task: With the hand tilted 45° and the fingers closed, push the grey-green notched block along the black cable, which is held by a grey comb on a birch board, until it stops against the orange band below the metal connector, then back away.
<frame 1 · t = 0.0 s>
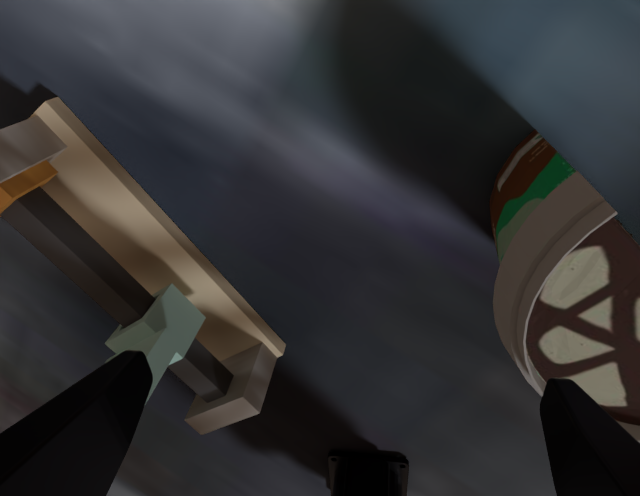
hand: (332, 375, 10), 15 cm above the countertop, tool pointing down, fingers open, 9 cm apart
grey-green notched block: (126, 376, 22), point 8 cm above the countertop, slide at 0.0 cm
cable comb board: (155, 258, 28), on the countertop
food container: (536, 229, 23), on the countertop
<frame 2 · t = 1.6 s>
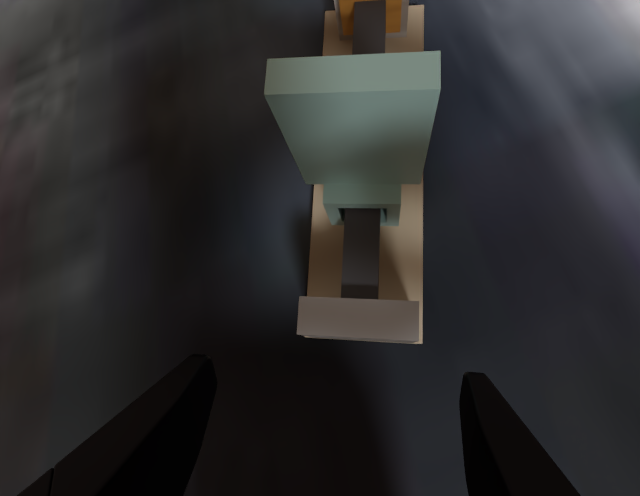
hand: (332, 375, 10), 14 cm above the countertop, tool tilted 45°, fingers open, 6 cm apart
grey-green notched block: (360, 153, 17), point 8 cm above the countertop, slide at 0.0 cm
cable comb board: (369, 166, 25), on the countertop
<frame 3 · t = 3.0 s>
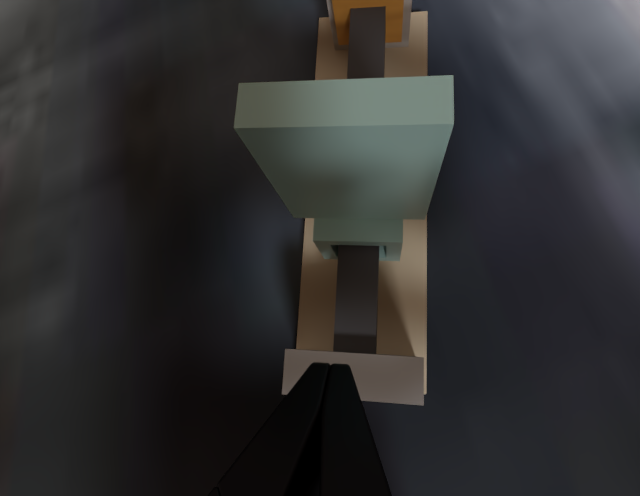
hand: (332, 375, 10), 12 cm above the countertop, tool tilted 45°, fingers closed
grey-green notched block: (355, 186, 15), point 7 cm above the countertop, slide at 0.0 cm
cable comb board: (366, 189, 23), on the countertop
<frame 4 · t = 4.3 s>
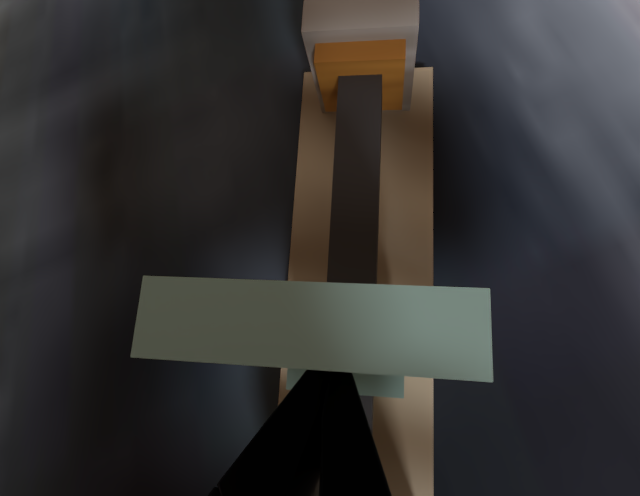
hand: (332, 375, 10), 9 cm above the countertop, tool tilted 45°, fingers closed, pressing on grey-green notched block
grey-green notched block: (340, 338, 11), point 7 cm above the countertop, slide at 0.2 cm, touching gripper
cable comb board: (360, 284, 19), on the countertop
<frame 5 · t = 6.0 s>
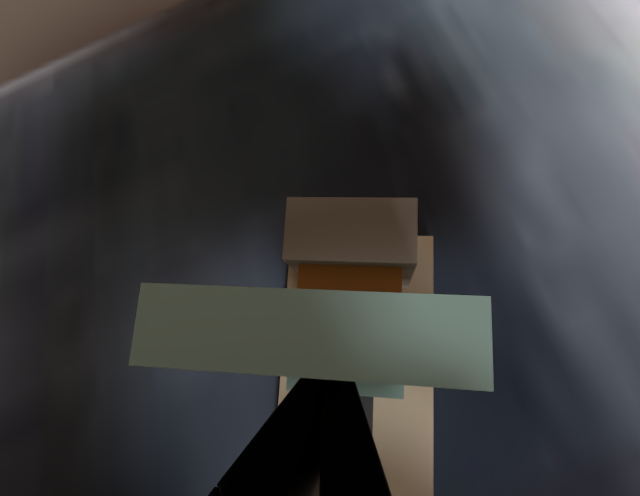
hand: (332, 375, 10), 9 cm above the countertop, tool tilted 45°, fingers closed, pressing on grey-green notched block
grey-green notched block: (339, 340, 11), point 7 cm above the countertop, slide at 8.3 cm, touching cable comb board, gripper
cable comb board: (352, 486, 17), on the countertop
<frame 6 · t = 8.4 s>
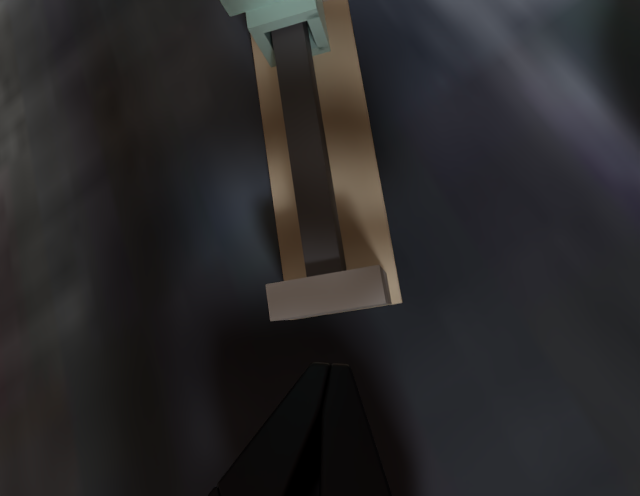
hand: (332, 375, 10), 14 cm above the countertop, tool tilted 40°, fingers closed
cable comb board: (319, 139, 25), on the countertop
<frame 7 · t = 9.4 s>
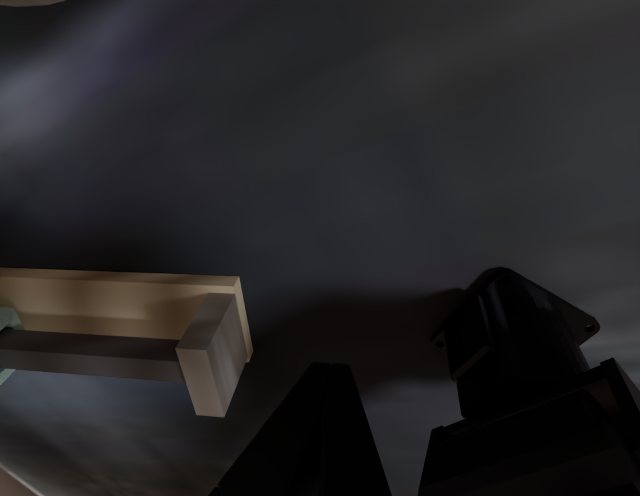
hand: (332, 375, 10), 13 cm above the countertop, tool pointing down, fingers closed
cable comb board: (100, 308, 28), on the countertop
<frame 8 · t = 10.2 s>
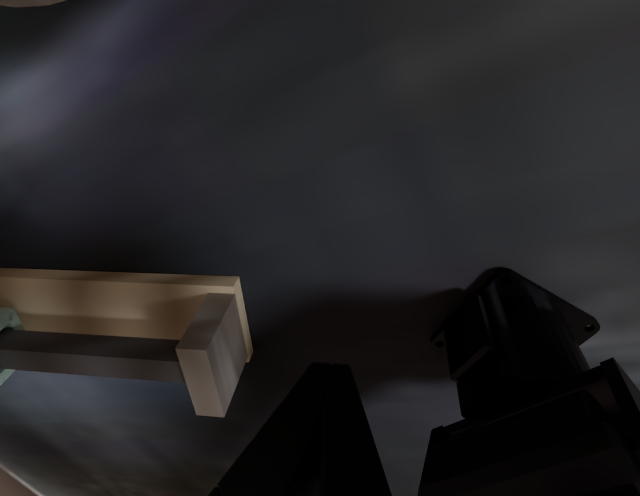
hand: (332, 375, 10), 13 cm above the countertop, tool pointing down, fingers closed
cable comb board: (100, 308, 28), on the countertop
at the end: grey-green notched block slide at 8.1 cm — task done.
